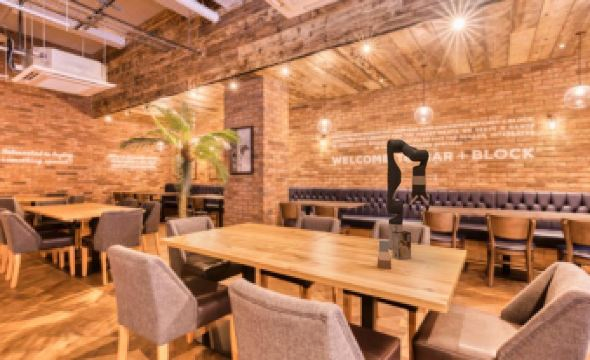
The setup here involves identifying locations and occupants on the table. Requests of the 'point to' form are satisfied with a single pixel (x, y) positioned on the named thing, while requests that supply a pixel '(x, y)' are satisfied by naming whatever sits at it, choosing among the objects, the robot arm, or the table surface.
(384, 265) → the tower base
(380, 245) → the slate block
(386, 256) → the tower top
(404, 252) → the coffee box
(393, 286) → the table surface
